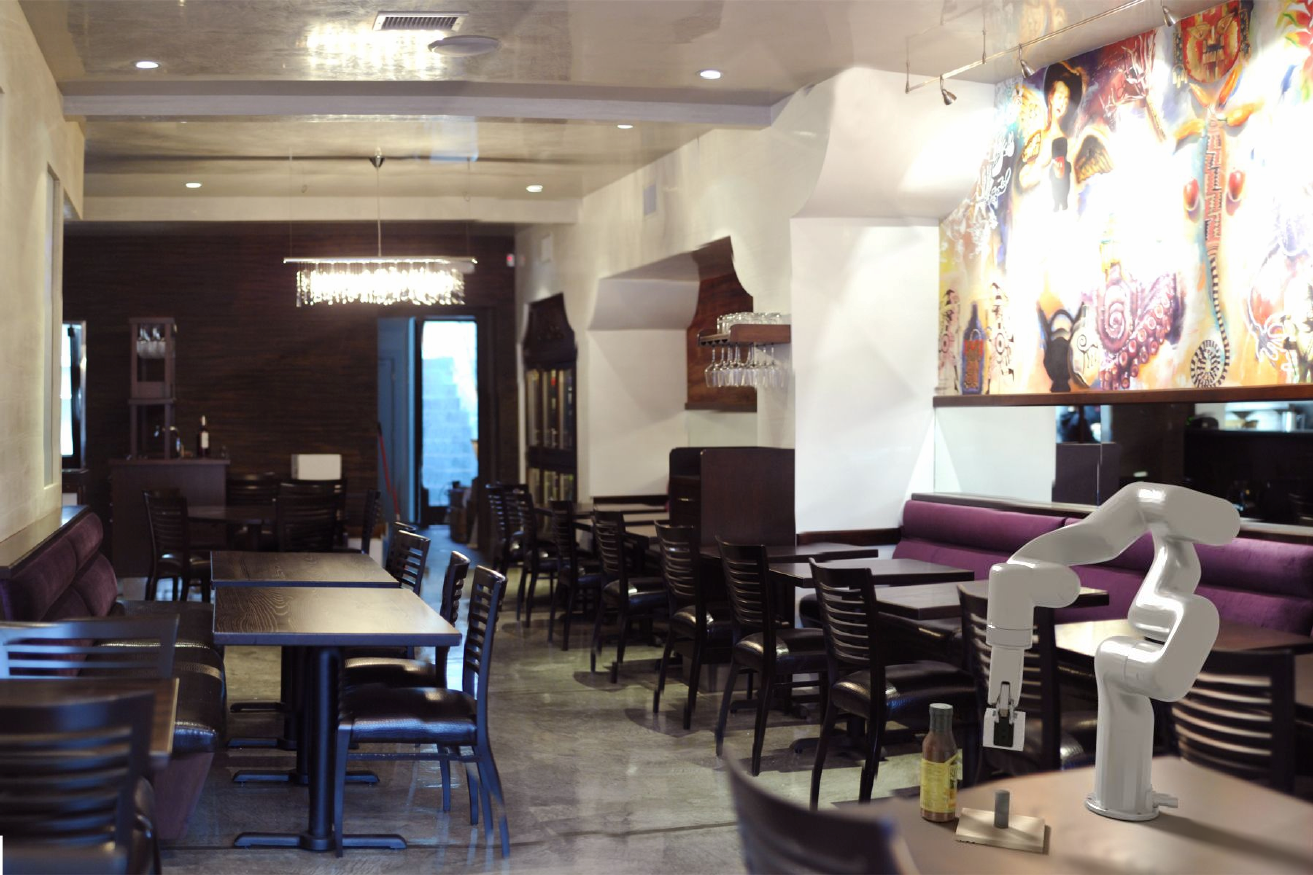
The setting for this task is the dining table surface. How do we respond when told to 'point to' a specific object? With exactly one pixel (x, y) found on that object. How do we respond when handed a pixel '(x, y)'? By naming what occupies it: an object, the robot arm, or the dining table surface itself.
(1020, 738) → the collar
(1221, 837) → the dining table surface
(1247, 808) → the dining table surface
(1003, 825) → the post block
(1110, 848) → the dining table surface
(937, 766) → the sauce bottle
